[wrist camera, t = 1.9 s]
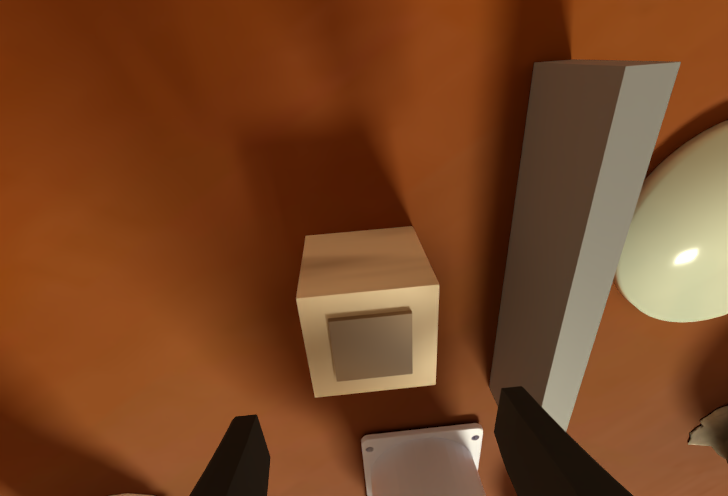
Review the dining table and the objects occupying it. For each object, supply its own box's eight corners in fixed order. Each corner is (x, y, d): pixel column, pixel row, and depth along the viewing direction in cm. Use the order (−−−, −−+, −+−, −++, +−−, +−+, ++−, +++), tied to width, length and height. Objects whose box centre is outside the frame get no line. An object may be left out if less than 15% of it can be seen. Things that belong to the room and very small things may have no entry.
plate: (773, 303, 21) (789, 311, 20) (587, 322, 21) (596, 331, 20) (893, 98, 16) (919, 100, 15) (646, 119, 15) (661, 122, 15)
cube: (412, 310, 19) (436, 388, 15) (319, 319, 19) (314, 401, 15) (412, 225, 17) (441, 287, 12) (305, 234, 17) (295, 302, 12)
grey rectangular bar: (512, 384, 23) (555, 464, 18) (489, 387, 23) (526, 467, 18) (572, 59, 14) (680, 61, 10) (534, 62, 14) (625, 66, 10)
